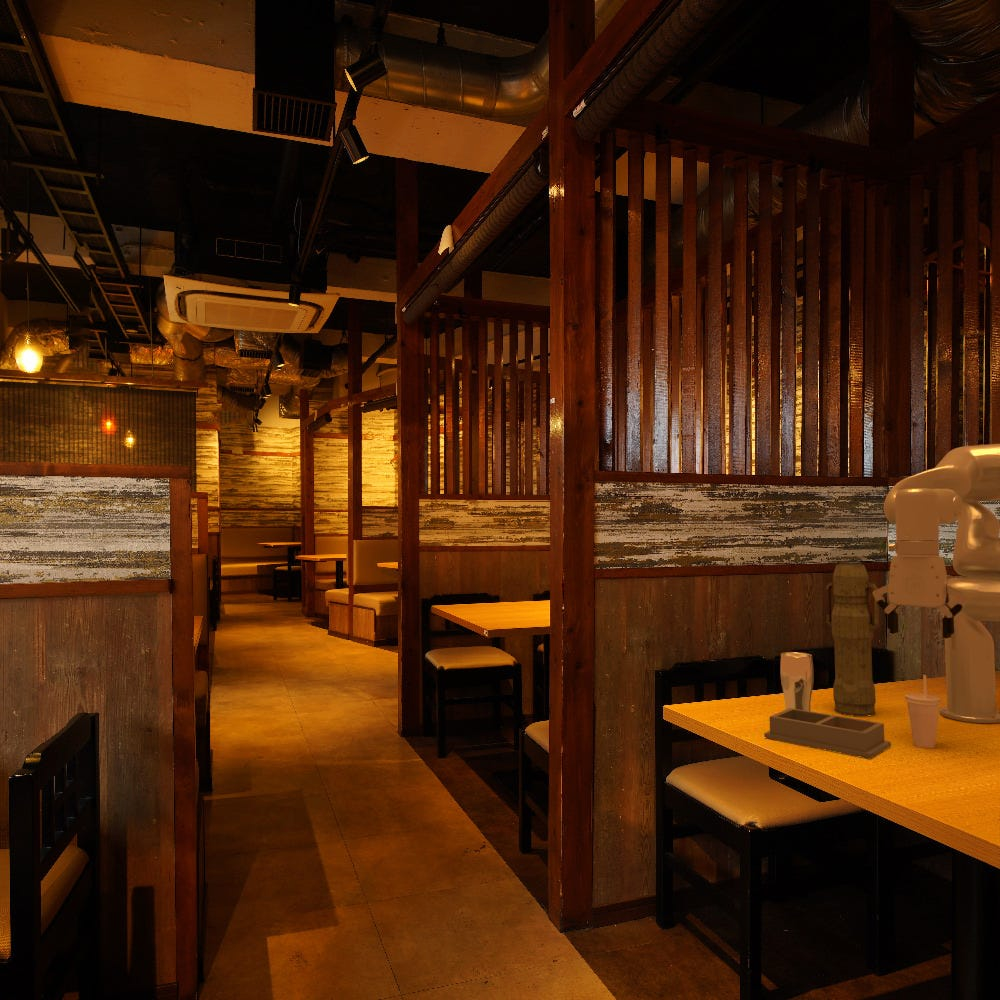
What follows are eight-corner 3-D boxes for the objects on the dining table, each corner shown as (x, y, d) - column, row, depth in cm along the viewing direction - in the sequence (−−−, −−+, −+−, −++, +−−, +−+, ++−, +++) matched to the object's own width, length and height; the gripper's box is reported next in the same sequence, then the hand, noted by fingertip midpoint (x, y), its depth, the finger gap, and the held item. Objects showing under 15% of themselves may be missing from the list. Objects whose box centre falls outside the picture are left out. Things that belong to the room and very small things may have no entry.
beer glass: (817, 726, 164) (815, 657, 165) (784, 724, 166) (782, 656, 166) (811, 718, 171) (809, 652, 172) (779, 717, 173) (777, 651, 173)
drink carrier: (787, 727, 164) (787, 706, 164) (890, 746, 149) (890, 723, 149) (764, 738, 156) (763, 716, 156) (870, 759, 141) (869, 735, 141)
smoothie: (930, 751, 145) (927, 679, 146) (899, 743, 151) (896, 673, 151) (950, 746, 148) (947, 675, 148) (919, 739, 154) (916, 670, 154)
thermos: (831, 705, 183) (827, 561, 185) (885, 711, 176) (880, 562, 178) (823, 712, 176) (818, 563, 177) (878, 719, 169) (873, 564, 170)
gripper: (865, 549, 154) (867, 633, 153) (961, 550, 142) (964, 641, 141) (878, 548, 159) (880, 629, 159) (972, 550, 147) (974, 637, 146)
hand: (920, 635), depth 150 cm, fingers open, 9 cm apart
